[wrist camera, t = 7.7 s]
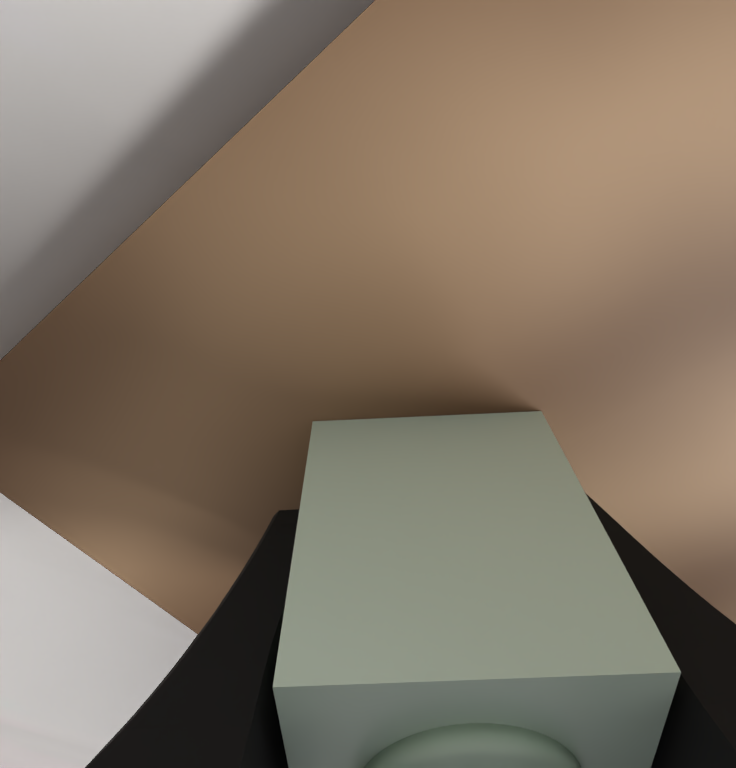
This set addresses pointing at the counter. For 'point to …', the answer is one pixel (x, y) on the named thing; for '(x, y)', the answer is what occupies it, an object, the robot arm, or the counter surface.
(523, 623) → the sage cube with dome
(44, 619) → the counter surface
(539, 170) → the board
